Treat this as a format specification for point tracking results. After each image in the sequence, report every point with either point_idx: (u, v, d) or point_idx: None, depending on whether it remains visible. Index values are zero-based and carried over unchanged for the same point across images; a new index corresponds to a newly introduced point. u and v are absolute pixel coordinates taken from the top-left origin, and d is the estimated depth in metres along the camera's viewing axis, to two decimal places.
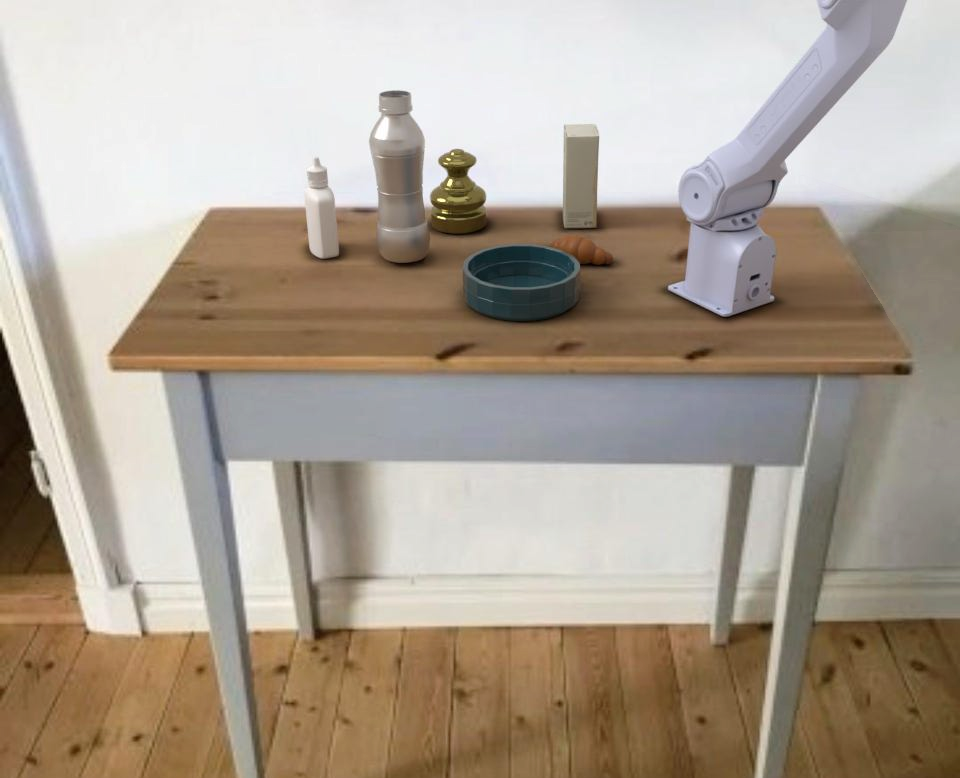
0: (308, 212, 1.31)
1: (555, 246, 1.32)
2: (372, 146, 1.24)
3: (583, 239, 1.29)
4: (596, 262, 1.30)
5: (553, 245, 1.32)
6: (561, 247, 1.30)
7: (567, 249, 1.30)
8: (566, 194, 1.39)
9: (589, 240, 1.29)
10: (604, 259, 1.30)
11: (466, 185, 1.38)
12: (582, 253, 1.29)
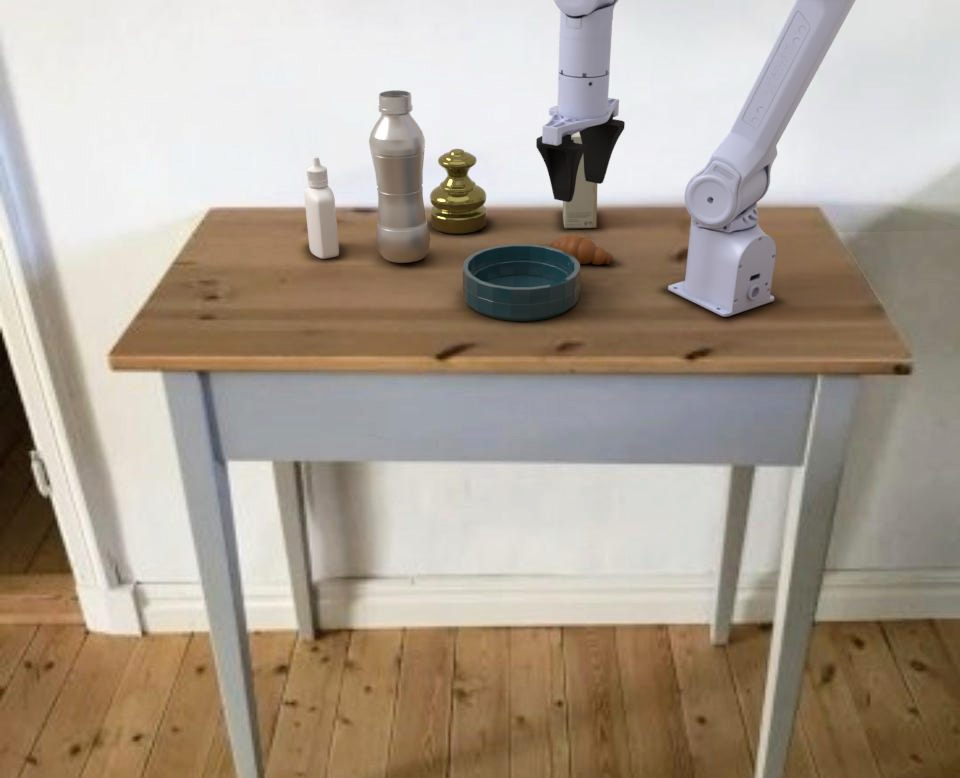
0: (308, 212, 1.31)
1: (555, 246, 1.32)
2: (372, 146, 1.24)
3: (583, 239, 1.29)
4: (596, 262, 1.30)
5: (553, 245, 1.32)
6: (561, 247, 1.30)
7: (567, 249, 1.30)
8: None
9: (589, 240, 1.29)
10: (604, 259, 1.30)
11: (466, 185, 1.38)
12: (582, 253, 1.29)
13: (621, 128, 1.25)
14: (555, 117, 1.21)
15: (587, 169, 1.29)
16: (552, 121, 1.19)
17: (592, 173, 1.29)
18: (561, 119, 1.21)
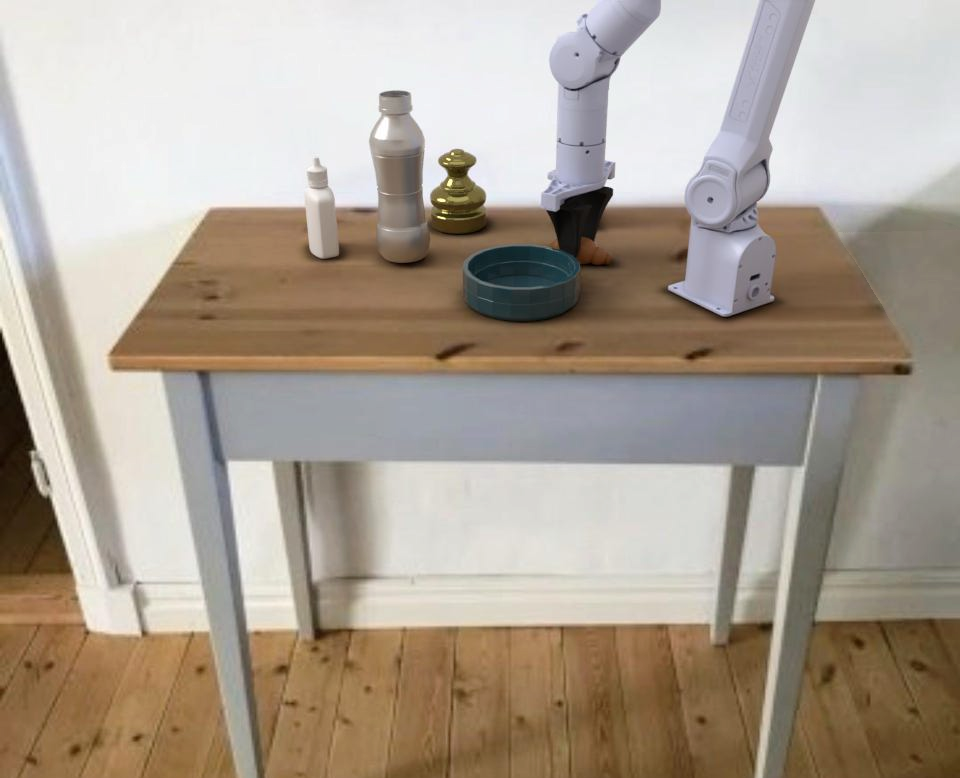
0: (308, 212, 1.31)
1: (555, 246, 1.32)
2: (372, 146, 1.24)
3: (583, 239, 1.29)
4: (596, 262, 1.30)
5: (553, 245, 1.32)
6: None
7: None
8: None
9: (589, 240, 1.29)
10: (604, 259, 1.30)
11: (466, 185, 1.38)
12: (582, 253, 1.29)
13: (610, 195, 1.28)
14: (553, 182, 1.25)
15: None
16: (550, 187, 1.23)
17: None
18: (559, 184, 1.25)
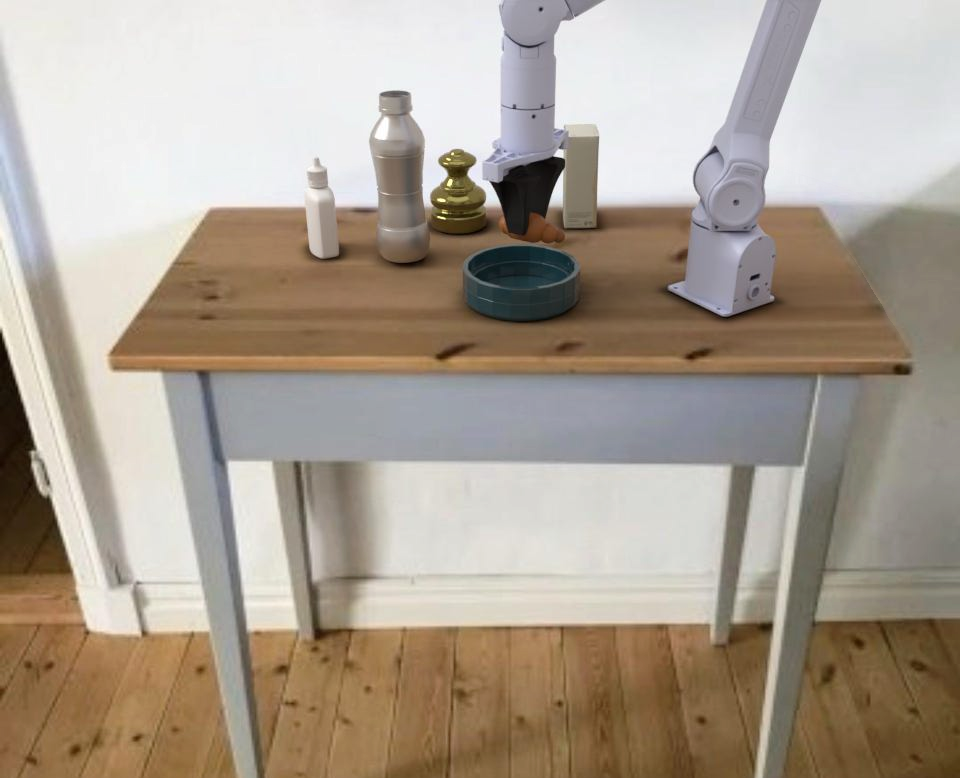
0: (308, 212, 1.31)
1: (502, 223, 1.20)
2: (372, 146, 1.24)
3: (532, 215, 1.17)
4: (546, 240, 1.18)
5: (500, 222, 1.20)
6: None
7: None
8: (566, 194, 1.39)
9: (538, 216, 1.17)
10: (555, 237, 1.18)
11: (466, 185, 1.38)
12: (531, 230, 1.17)
13: (561, 166, 1.16)
14: (498, 151, 1.13)
15: None
16: (493, 156, 1.11)
17: None
18: (504, 153, 1.13)
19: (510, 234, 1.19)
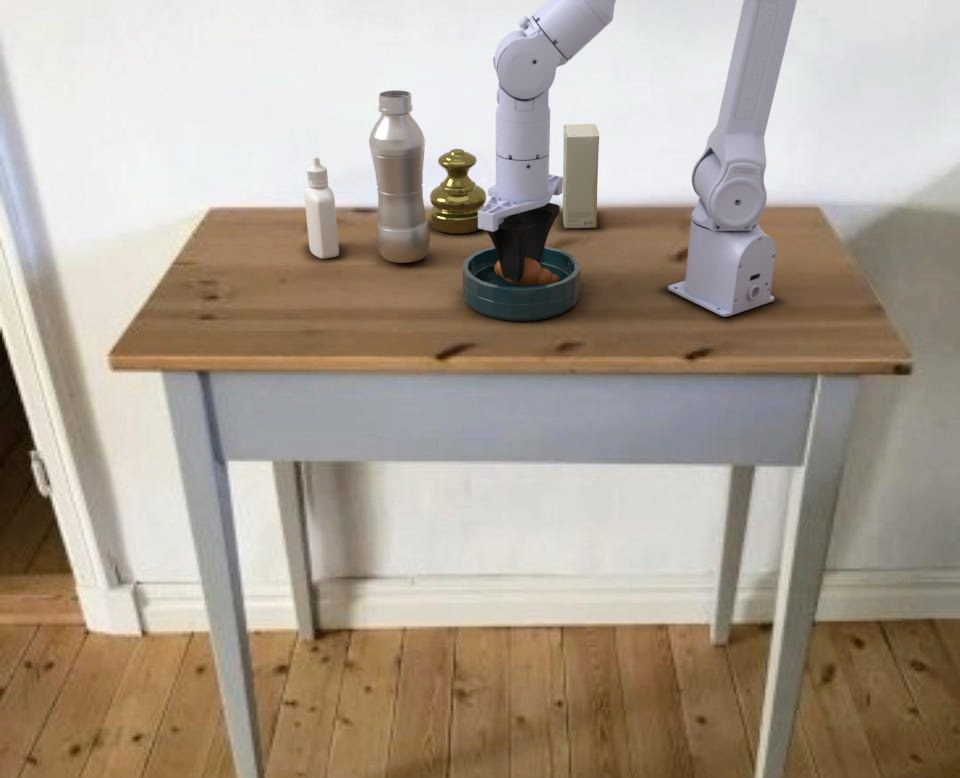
0: (308, 212, 1.31)
1: (498, 267, 1.22)
2: (372, 146, 1.24)
3: (527, 260, 1.19)
4: (541, 285, 1.20)
5: (496, 266, 1.22)
6: None
7: None
8: (566, 194, 1.39)
9: (533, 261, 1.19)
10: (550, 282, 1.20)
11: (466, 185, 1.38)
12: (525, 275, 1.19)
13: (556, 213, 1.18)
14: (493, 199, 1.15)
15: None
16: (489, 205, 1.13)
17: None
18: (499, 202, 1.15)
19: (505, 278, 1.21)
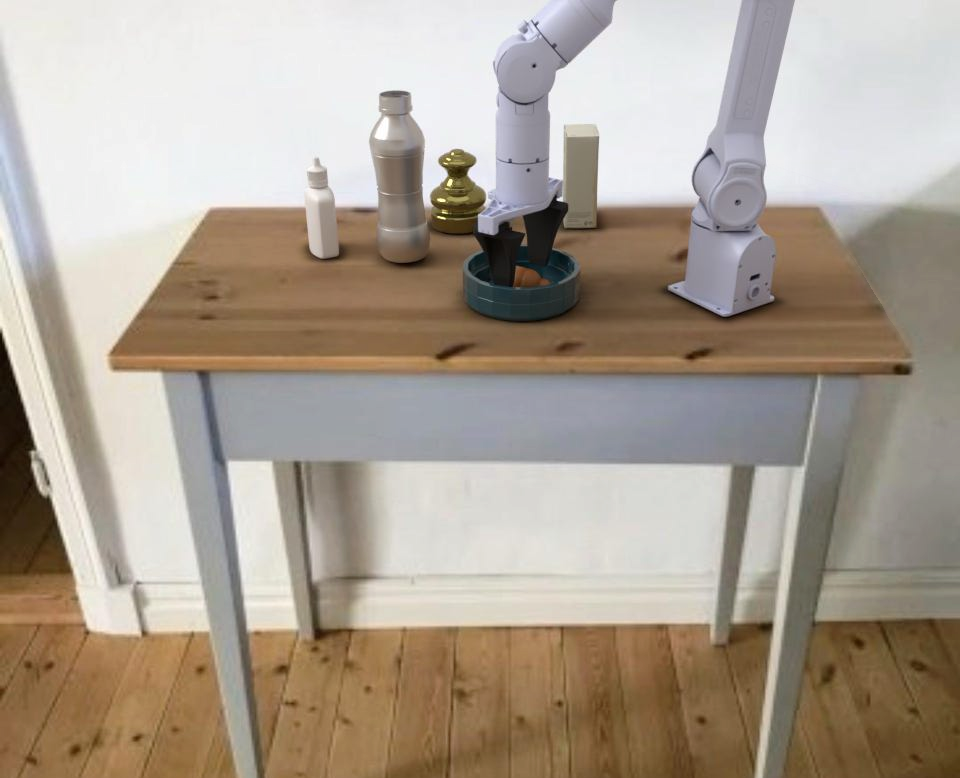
0: (308, 212, 1.31)
1: None
2: (372, 146, 1.24)
3: (526, 271, 1.20)
4: None
5: None
6: None
7: None
8: (566, 194, 1.39)
9: (533, 272, 1.20)
10: None
11: (466, 185, 1.38)
12: (525, 286, 1.20)
13: (565, 211, 1.20)
14: (493, 203, 1.15)
15: (531, 251, 1.23)
16: (489, 208, 1.13)
17: (536, 255, 1.23)
18: (499, 205, 1.15)
19: None
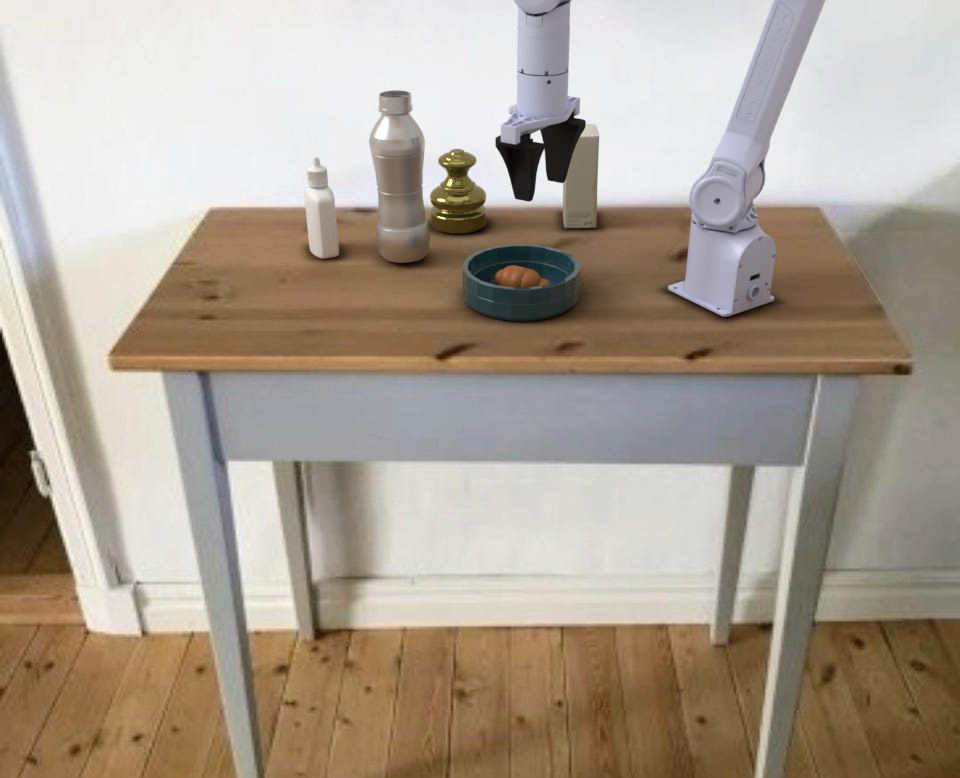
0: (308, 212, 1.31)
1: (498, 278, 1.23)
2: (372, 146, 1.24)
3: (526, 271, 1.20)
4: None
5: (496, 276, 1.23)
6: (503, 279, 1.21)
7: (510, 281, 1.20)
8: (566, 194, 1.39)
9: (533, 272, 1.20)
10: None
11: (466, 185, 1.38)
12: (525, 286, 1.20)
13: (582, 127, 1.24)
14: (514, 116, 1.20)
15: (549, 168, 1.28)
16: (511, 120, 1.18)
17: (554, 172, 1.28)
18: (520, 118, 1.19)
19: None
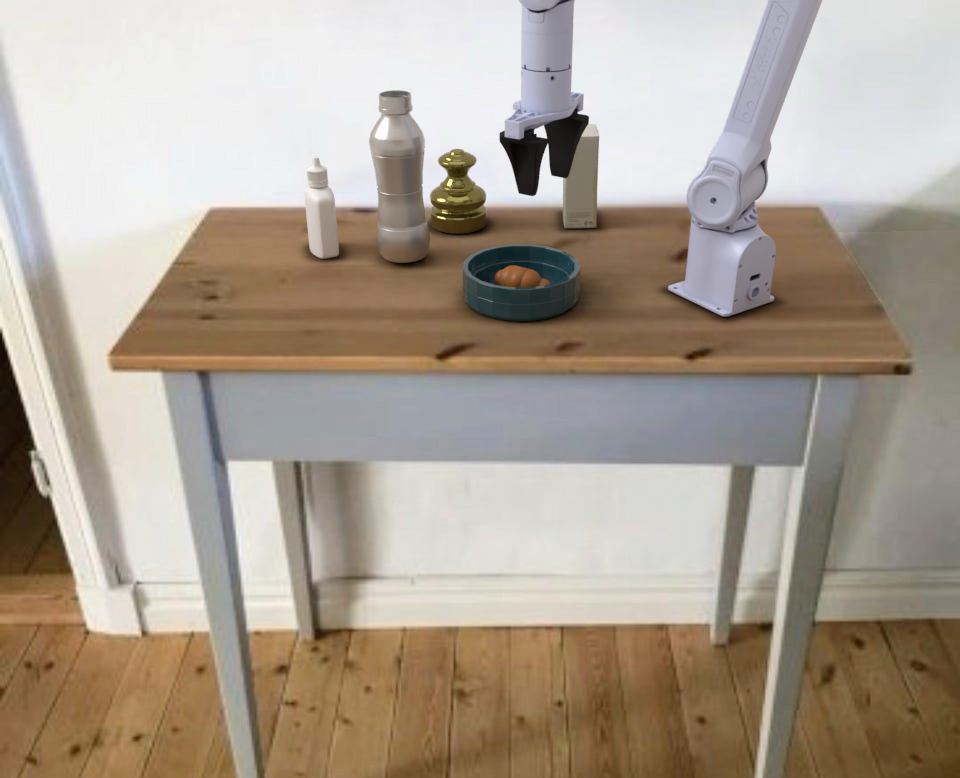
0: (308, 212, 1.31)
1: (498, 278, 1.23)
2: (372, 146, 1.24)
3: (526, 271, 1.20)
4: None
5: (496, 276, 1.23)
6: (503, 279, 1.21)
7: (510, 281, 1.20)
8: (566, 194, 1.39)
9: (533, 272, 1.20)
10: None
11: (466, 185, 1.38)
12: (525, 286, 1.20)
13: (585, 122, 1.26)
14: (518, 111, 1.22)
15: (552, 163, 1.29)
16: (515, 115, 1.20)
17: (558, 167, 1.29)
18: (524, 113, 1.21)
19: None
